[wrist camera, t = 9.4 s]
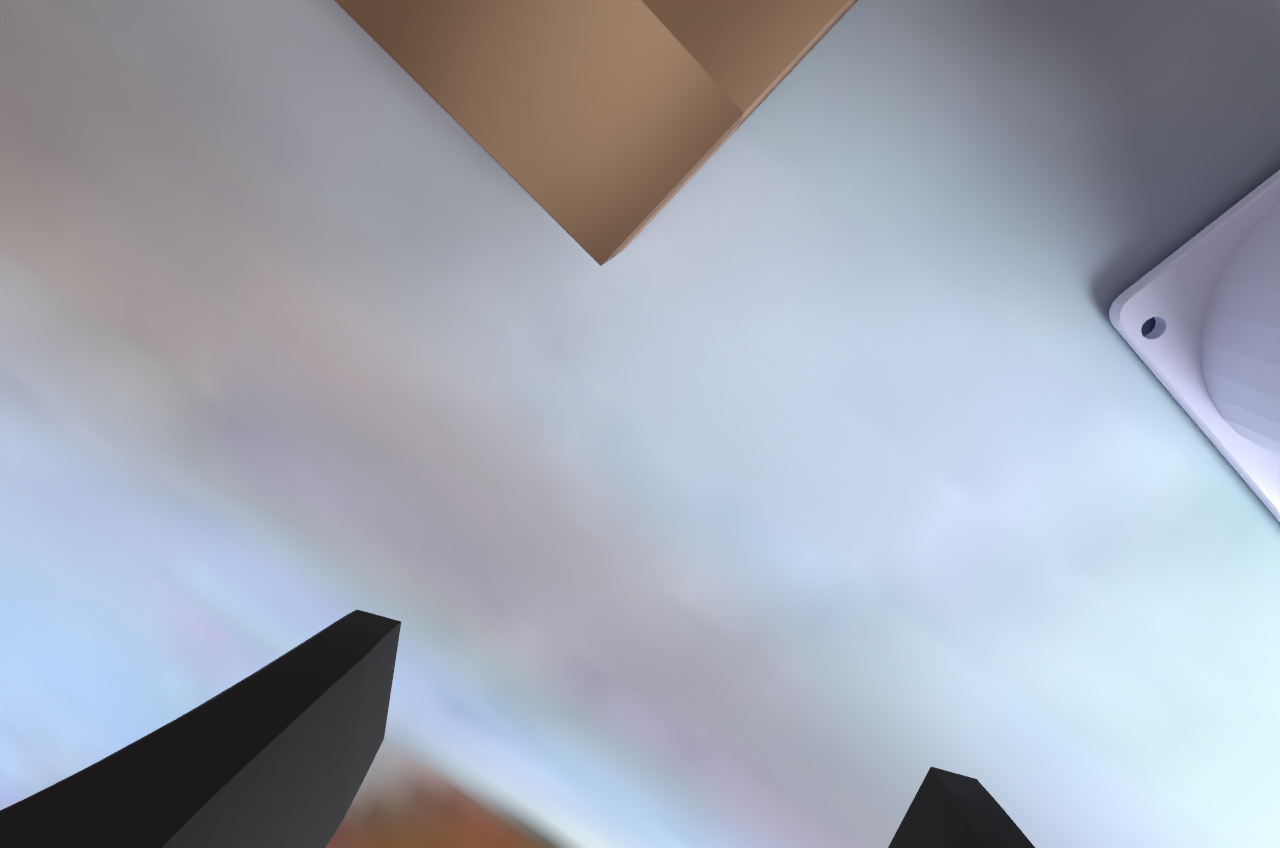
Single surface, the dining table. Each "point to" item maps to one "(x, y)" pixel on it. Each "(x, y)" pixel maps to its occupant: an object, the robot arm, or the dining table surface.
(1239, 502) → the dining table surface
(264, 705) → the robot arm
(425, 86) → the socket block
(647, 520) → the dining table surface
